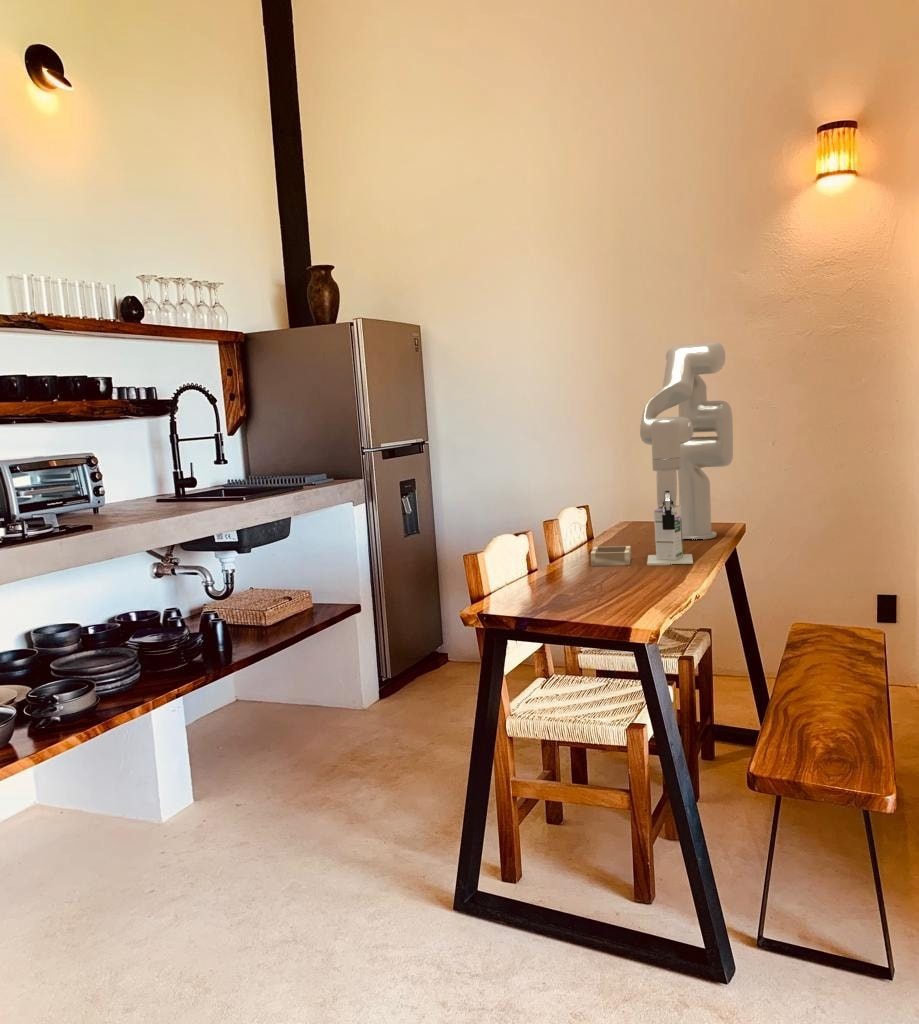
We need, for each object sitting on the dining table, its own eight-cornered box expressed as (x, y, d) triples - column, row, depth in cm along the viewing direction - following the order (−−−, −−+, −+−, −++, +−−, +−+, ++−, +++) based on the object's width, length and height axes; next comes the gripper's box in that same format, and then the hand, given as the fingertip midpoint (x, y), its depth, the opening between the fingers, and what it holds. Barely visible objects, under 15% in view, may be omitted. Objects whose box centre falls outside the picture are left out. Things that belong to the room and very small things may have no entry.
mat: (648, 557, 243) (648, 555, 243) (691, 556, 240) (691, 554, 240) (647, 565, 231) (647, 563, 231) (693, 564, 228) (693, 562, 228)
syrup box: (675, 560, 232) (674, 508, 230) (655, 559, 235) (653, 507, 234) (683, 557, 236) (681, 505, 235) (663, 556, 240) (661, 504, 238)
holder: (594, 558, 246) (593, 546, 245) (631, 558, 243) (630, 545, 243) (591, 565, 236) (590, 553, 235) (629, 565, 233) (628, 552, 233)
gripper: (653, 462, 242) (655, 522, 244) (651, 468, 225) (654, 532, 227) (680, 461, 240) (682, 521, 242) (681, 466, 223) (683, 531, 225)
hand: (668, 526), depth 234 cm, fingers open, 9 cm apart
